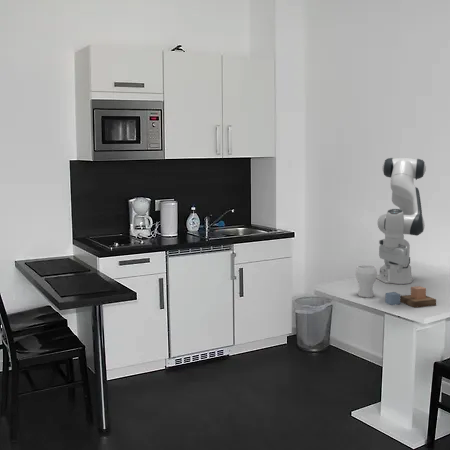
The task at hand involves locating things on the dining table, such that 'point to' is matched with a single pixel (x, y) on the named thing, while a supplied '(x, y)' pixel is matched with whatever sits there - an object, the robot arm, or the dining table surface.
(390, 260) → the robot arm
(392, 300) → the blue block
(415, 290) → the terracotta block
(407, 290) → the dining table surface
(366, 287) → the cup
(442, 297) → the dining table surface
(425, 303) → the pedestal
